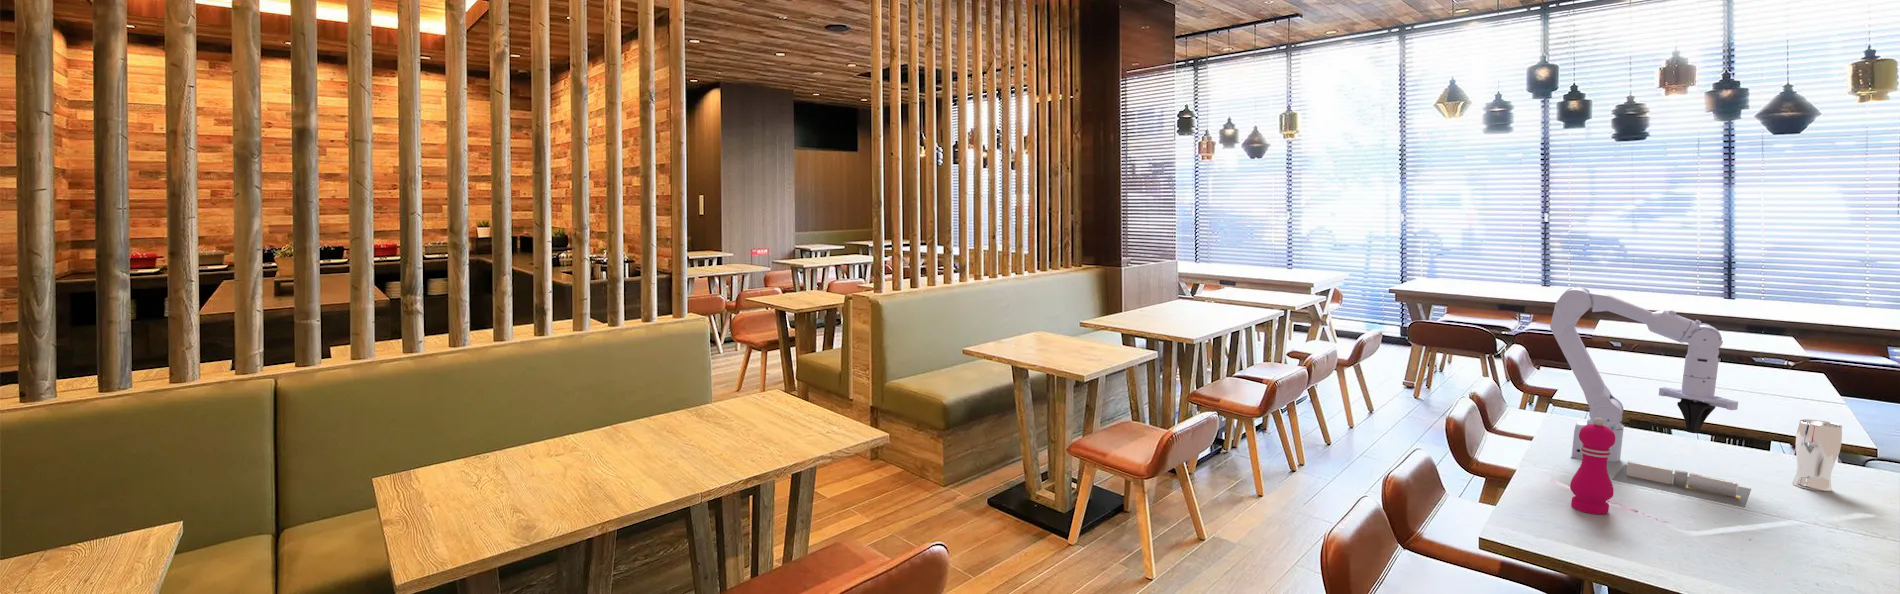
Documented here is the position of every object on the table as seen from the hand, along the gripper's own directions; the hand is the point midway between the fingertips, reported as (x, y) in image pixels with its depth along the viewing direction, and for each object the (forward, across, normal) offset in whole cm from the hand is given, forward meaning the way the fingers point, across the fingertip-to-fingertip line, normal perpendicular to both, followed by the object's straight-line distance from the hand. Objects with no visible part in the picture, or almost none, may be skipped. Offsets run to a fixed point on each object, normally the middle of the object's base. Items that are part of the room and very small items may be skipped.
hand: (1692, 432), depth 190 cm
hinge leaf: (+9, +11, -11) cm, 18 cm away
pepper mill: (+11, +7, -45) cm, 47 cm away
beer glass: (+11, +14, +17) cm, 25 cm away
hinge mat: (+10, +5, -12) cm, 17 cm away
